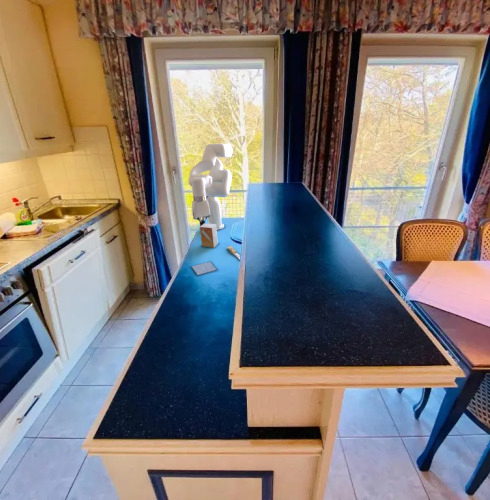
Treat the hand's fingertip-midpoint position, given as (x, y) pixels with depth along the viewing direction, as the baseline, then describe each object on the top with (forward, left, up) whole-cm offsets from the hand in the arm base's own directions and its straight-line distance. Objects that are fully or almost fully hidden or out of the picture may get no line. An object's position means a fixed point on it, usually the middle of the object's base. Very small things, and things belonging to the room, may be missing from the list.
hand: (202, 227), depth 176 cm
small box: (+10, 0, -9) cm, 13 cm away
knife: (+29, +8, -9) cm, 31 cm away
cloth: (+36, -13, -9) cm, 39 cm away
